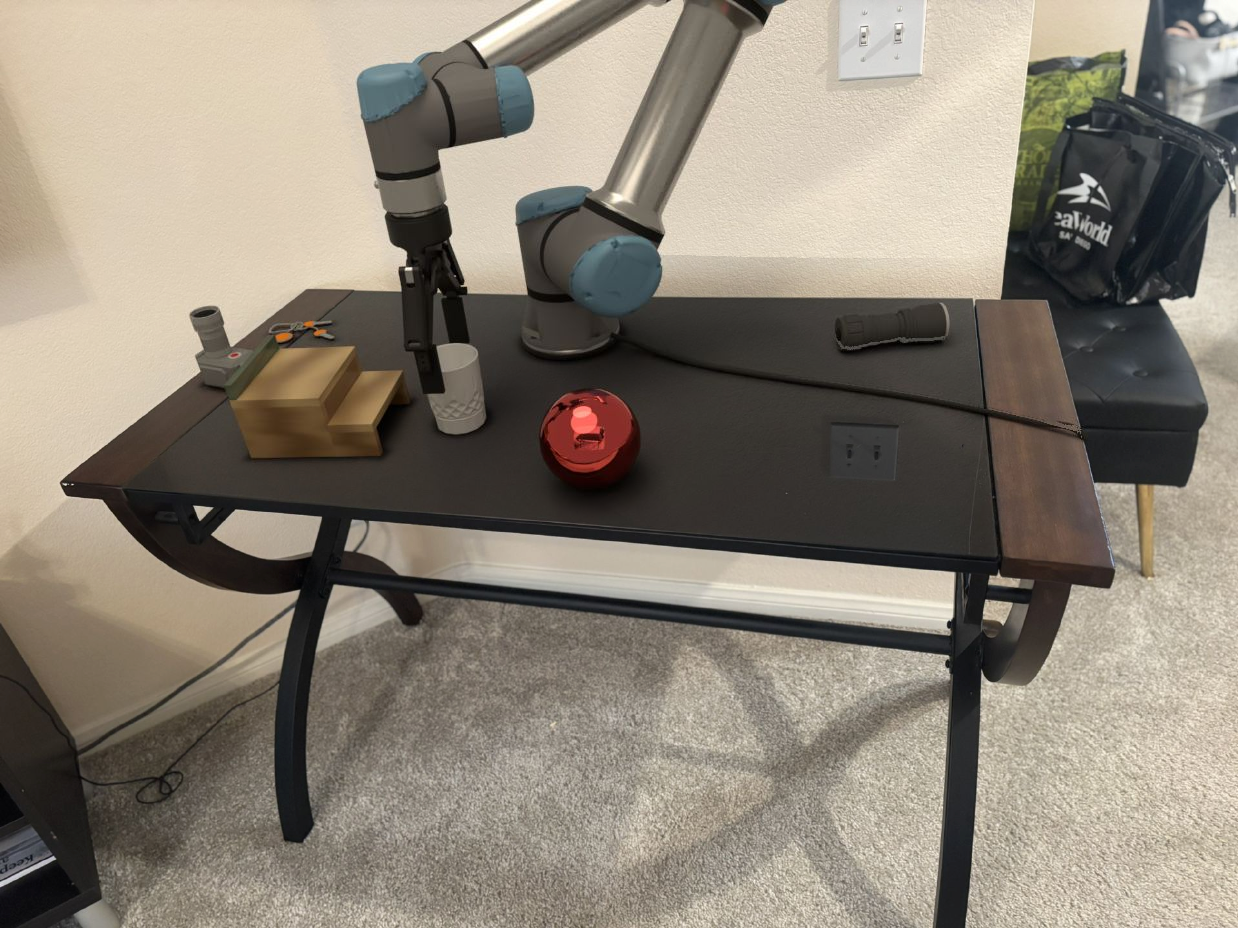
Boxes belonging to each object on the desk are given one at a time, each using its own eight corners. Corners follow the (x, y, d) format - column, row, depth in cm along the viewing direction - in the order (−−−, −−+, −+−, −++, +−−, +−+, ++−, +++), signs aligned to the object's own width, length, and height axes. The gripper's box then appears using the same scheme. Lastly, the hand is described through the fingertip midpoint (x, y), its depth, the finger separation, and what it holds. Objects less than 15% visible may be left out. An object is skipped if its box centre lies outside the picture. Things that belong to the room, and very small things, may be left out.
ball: (659, 462, 112) (654, 377, 105) (617, 519, 104) (608, 430, 97) (574, 445, 117) (563, 363, 110) (527, 498, 108) (513, 412, 101)
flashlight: (841, 359, 129) (843, 325, 126) (830, 342, 134) (832, 309, 131) (947, 347, 130) (951, 312, 127) (933, 330, 134) (937, 296, 131)
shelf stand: (410, 400, 130) (393, 330, 124) (380, 456, 119) (359, 381, 112) (291, 403, 132) (268, 334, 126) (251, 458, 121) (223, 385, 114)
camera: (208, 297, 137) (287, 308, 132) (232, 365, 144) (308, 378, 139) (165, 322, 131) (246, 334, 126) (192, 392, 138) (270, 407, 132)
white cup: (500, 409, 126) (488, 345, 120) (474, 440, 120) (461, 374, 114) (449, 404, 128) (435, 340, 123) (422, 434, 122) (406, 369, 117)
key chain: (259, 343, 150) (257, 339, 149) (277, 323, 155) (275, 319, 155) (332, 341, 148) (331, 337, 147) (348, 321, 154) (346, 317, 153)
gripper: (413, 176, 118) (443, 324, 130) (349, 248, 97) (392, 416, 109) (470, 173, 117) (494, 323, 129) (417, 245, 96) (452, 415, 108)
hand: (447, 366), depth 119 cm, fingers open, 13 cm apart
